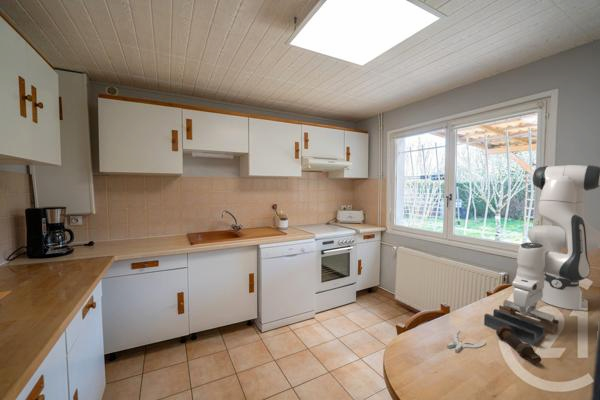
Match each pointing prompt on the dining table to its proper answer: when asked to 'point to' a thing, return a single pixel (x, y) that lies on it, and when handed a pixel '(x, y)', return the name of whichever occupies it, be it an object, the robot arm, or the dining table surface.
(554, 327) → the beam
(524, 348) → the bolt
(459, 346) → the pliers
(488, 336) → the dining table surface
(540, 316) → the axle
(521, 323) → the v block
